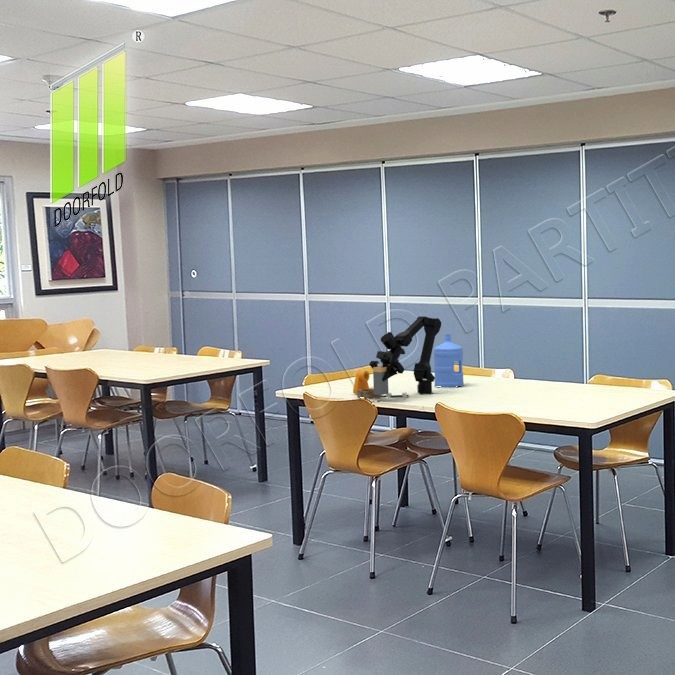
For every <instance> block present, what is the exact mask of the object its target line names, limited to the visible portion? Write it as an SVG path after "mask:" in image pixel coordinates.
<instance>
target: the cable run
mask: <svg viewBox="0 0 675 675" xmlns="http://www.w3.org/2000/svg"><path fill="white" fill-rule="evenodd" d="M407 396H409V394H407ZM409 397H410V396H409ZM381 398H386V394H384V395H381ZM391 398H404V397H403V396H402V394H398V395H395V394H393V395H391Z"/></svg>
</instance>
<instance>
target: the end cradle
mask: <svg viewBox="0 0 675 675" xmlns="http://www.w3.org/2000/svg"><path fill="white" fill-rule="evenodd" d="M356 395H357V398H358V399H360V397H364V398H369V399H368V400H373V398H377V399H382V397H381V395H376V394H374V389H357V394H356Z"/></svg>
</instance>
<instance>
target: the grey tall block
mask: <svg viewBox="0 0 675 675" xmlns="http://www.w3.org/2000/svg"><path fill="white" fill-rule="evenodd" d="M386 371H387V367H383V364H382V363H380V364H378V367H374V368H373V369H372V374H373V375H372V377H373V378H372V380H373V381H372V382H373V388H374V394H376V395H386V394H389V393H390V392H389V378H388V379H387V380H385V381H383V380H382V379H383V377H384V375H385V373H386Z"/></svg>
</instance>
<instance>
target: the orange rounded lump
mask: <svg viewBox="0 0 675 675" xmlns="http://www.w3.org/2000/svg"><path fill="white" fill-rule="evenodd" d="M369 380H370V373H369V371H366V370H358V371H357V372H356V374H355V378H354V383H353V384H354V385H353V390H352V393H353V394H356V395H357V389H374V387H370V385H369V382H368V381H369Z"/></svg>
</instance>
